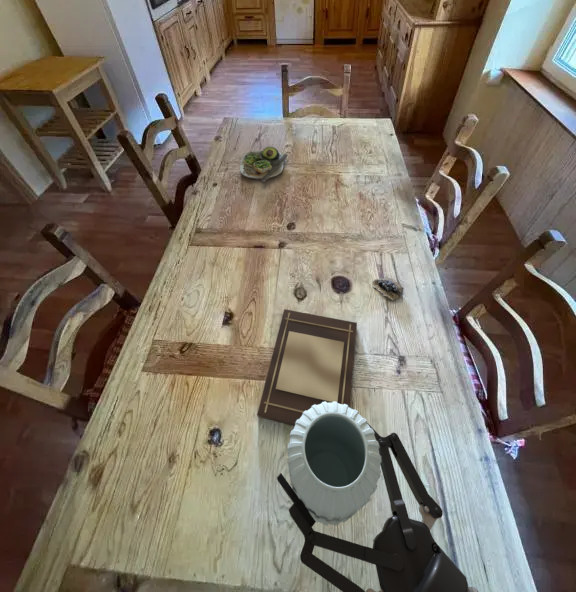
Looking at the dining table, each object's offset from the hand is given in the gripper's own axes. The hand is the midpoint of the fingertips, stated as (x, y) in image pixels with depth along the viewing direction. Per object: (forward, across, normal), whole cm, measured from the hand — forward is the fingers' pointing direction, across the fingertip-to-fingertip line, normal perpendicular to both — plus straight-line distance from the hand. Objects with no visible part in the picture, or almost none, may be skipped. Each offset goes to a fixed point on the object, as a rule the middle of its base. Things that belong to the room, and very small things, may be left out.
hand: (310, 440), depth 49 cm
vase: (-4, 0, -12) cm, 13 cm away
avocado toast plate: (+78, +53, -21) cm, 96 cm away
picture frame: (+12, +13, -20) cm, 27 cm away
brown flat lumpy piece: (+13, +42, -20) cm, 48 cm away
